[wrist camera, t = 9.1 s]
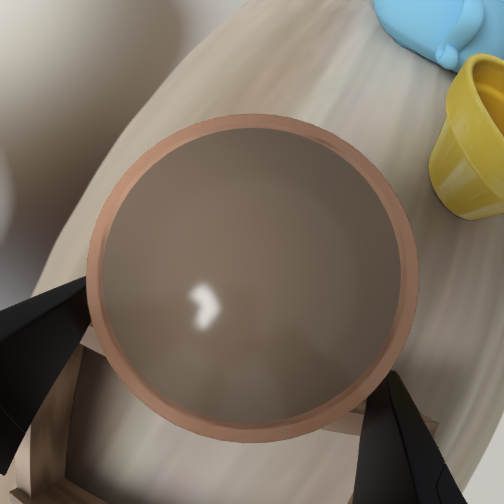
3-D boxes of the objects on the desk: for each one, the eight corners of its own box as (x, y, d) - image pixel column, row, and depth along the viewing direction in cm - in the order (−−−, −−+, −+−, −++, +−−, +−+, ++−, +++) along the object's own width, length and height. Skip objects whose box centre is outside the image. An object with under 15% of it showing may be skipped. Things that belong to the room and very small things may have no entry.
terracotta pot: (298, 375, 17) (364, 471, 5) (184, 340, 18) (52, 366, 5) (330, 261, 19) (433, 162, 6) (219, 229, 19) (156, 93, 7)
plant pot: (451, 112, 21) (501, 44, 12) (517, 204, 19) (588, 161, 9) (380, 153, 20) (435, 63, 11) (460, 269, 18) (557, 235, 9)
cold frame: (322, 568, 13) (332, 612, 7) (51, 477, 16) (10, 501, 10) (410, 407, 16) (456, 433, 11) (77, 305, 19) (21, 297, 13)
